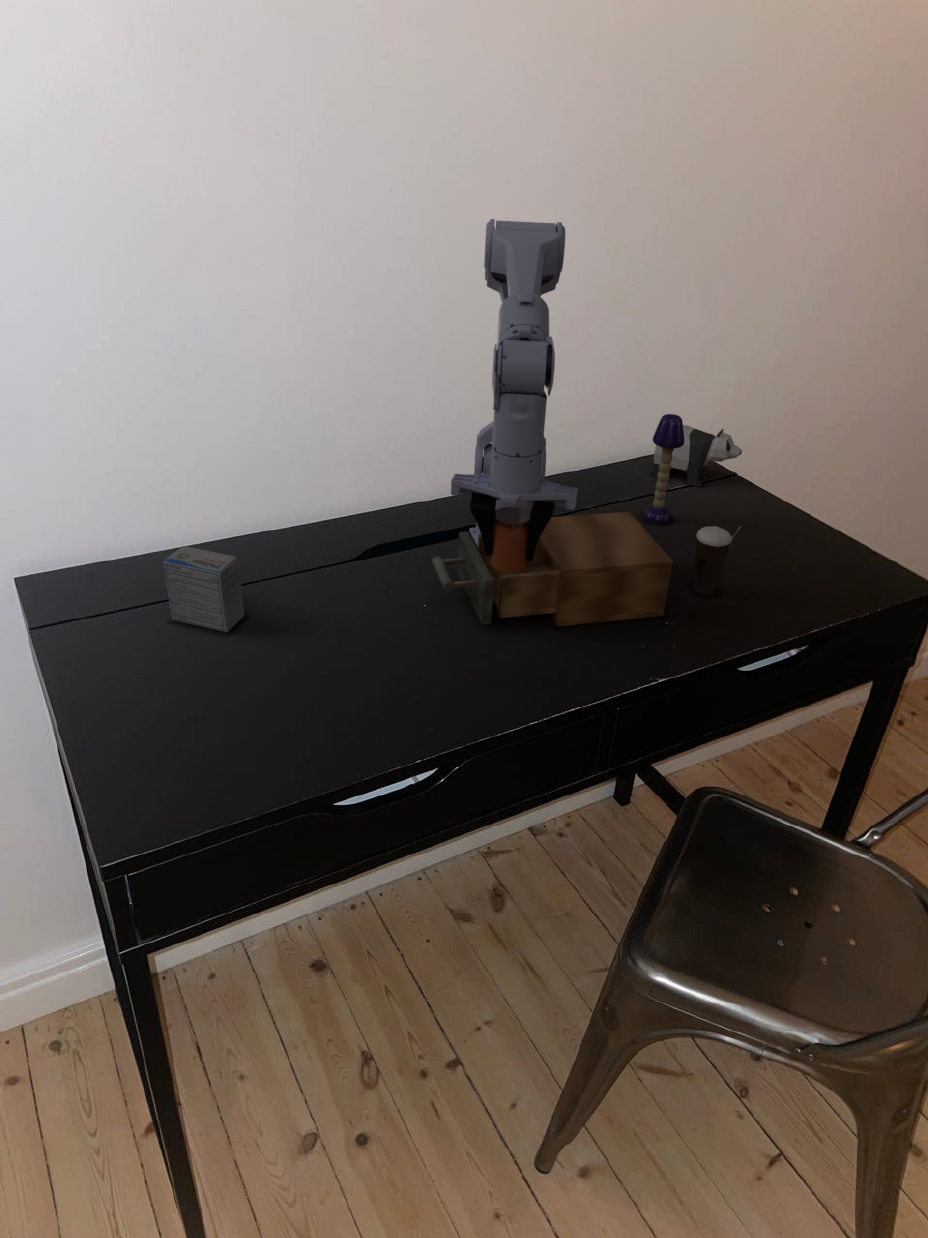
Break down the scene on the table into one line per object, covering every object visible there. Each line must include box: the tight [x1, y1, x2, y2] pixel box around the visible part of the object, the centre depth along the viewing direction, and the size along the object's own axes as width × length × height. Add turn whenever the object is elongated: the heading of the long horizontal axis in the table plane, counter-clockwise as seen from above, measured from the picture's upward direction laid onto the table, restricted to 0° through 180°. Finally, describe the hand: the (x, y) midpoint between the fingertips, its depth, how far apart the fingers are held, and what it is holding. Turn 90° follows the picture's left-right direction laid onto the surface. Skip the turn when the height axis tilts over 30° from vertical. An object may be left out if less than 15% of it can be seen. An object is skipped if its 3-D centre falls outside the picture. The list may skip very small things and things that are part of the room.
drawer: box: [431, 530, 561, 626], centre depth 124 cm, size 18×13×6 cm
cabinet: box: [539, 511, 674, 627], centre depth 127 cm, size 15×15×8 cm
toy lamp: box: [643, 413, 684, 525], centre depth 145 cm, size 5×5×17 cm
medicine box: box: [162, 545, 245, 633], centre depth 117 cm, size 8×4×9 cm, turn 71°
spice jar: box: [491, 507, 530, 572], centre depth 114 cm, size 5×5×6 cm
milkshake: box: [691, 525, 742, 596], centre depth 128 cm, size 4×5×10 cm
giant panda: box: [653, 424, 743, 488], centre depth 160 cm, size 15×6×10 cm, turn 61°
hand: (509, 554), depth 115 cm, fingers closed on spice jar, 4 cm apart
